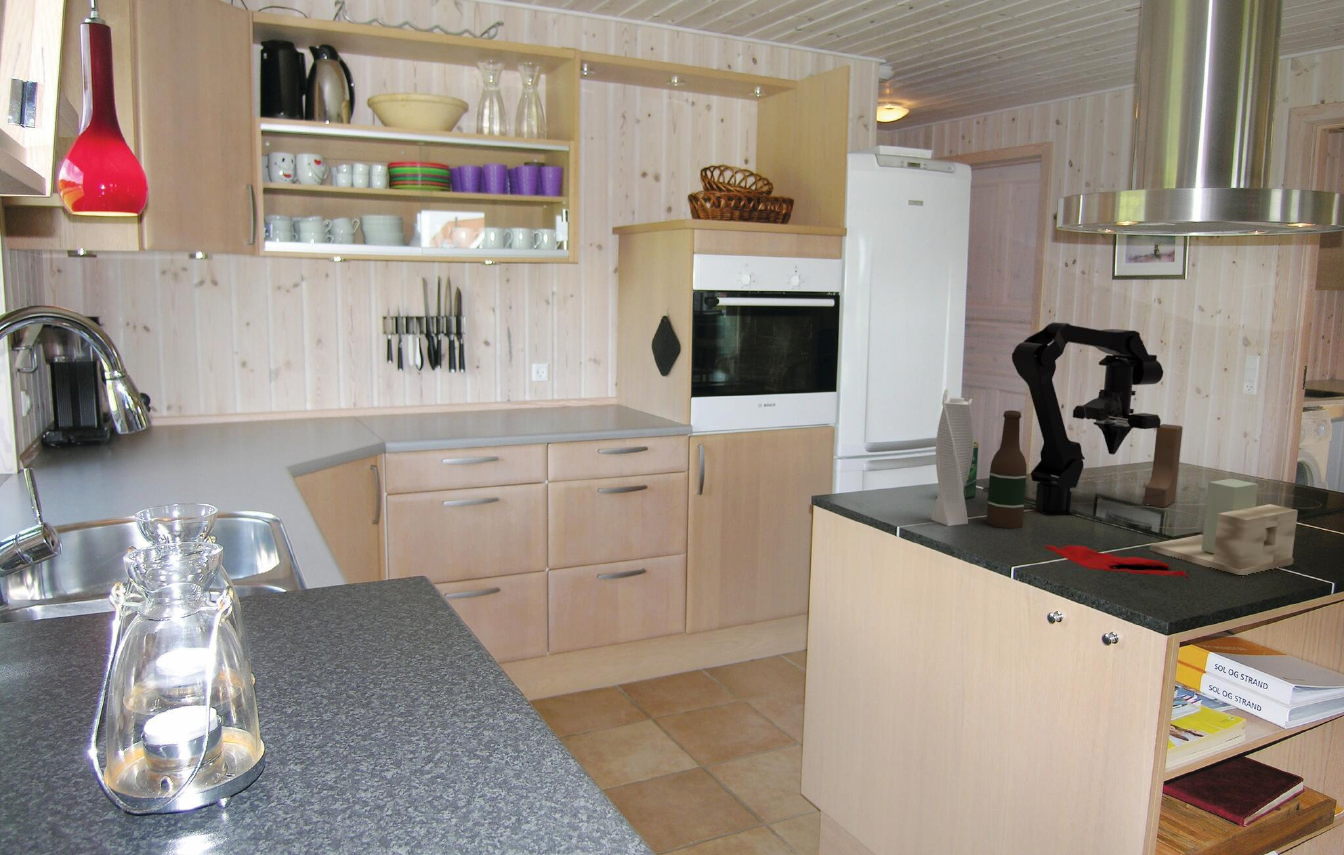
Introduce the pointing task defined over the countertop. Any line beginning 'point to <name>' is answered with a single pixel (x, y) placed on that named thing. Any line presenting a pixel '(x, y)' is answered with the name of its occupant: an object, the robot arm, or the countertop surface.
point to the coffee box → (972, 475)
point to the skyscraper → (953, 460)
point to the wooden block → (1164, 466)
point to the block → (1226, 505)
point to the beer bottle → (1007, 477)
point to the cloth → (1110, 561)
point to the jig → (1241, 541)
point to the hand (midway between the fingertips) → (1111, 454)
